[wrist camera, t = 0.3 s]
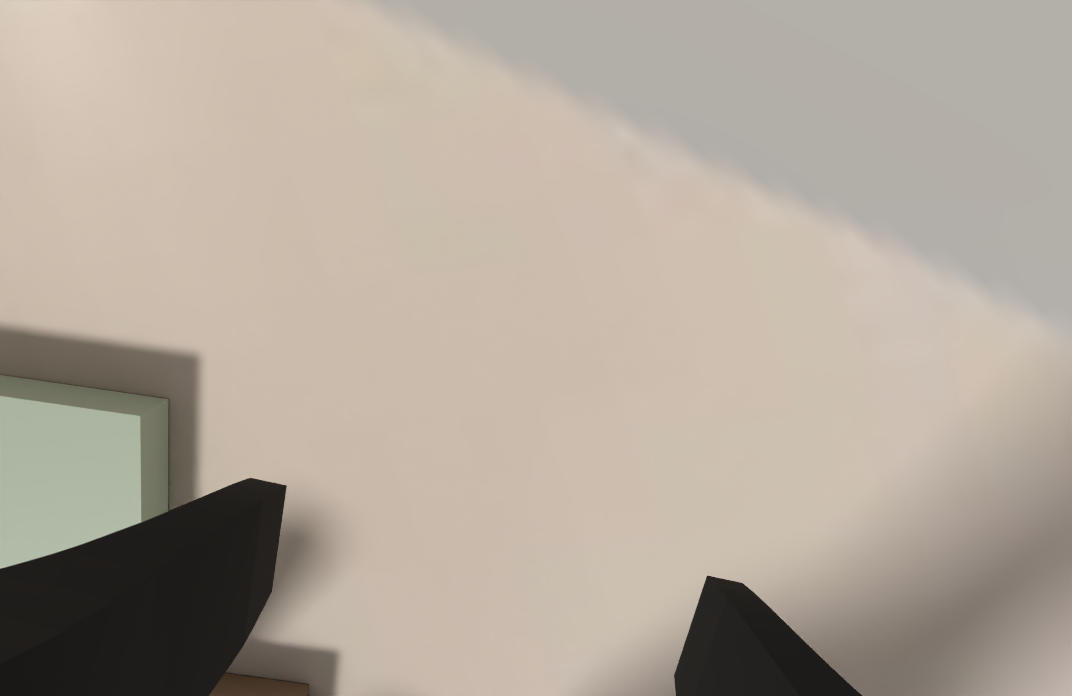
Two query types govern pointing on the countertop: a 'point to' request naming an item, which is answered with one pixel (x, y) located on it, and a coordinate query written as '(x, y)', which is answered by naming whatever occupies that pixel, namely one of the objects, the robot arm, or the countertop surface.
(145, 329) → the countertop surface
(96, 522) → the pad
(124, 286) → the countertop surface
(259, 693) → the board
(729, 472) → the countertop surface
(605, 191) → the countertop surface
